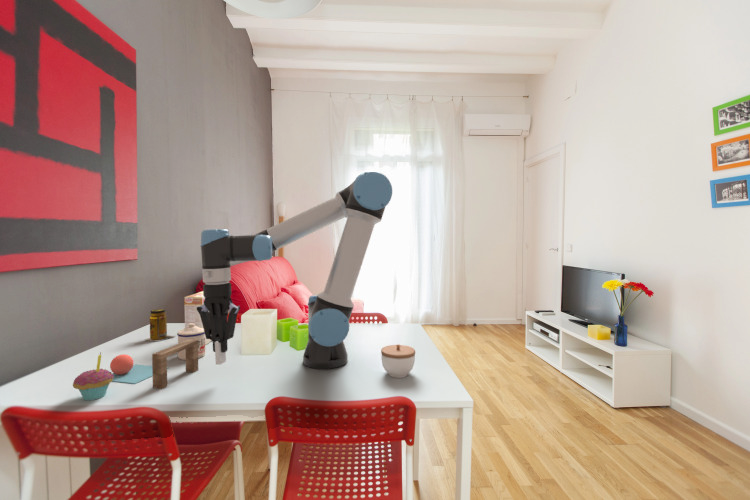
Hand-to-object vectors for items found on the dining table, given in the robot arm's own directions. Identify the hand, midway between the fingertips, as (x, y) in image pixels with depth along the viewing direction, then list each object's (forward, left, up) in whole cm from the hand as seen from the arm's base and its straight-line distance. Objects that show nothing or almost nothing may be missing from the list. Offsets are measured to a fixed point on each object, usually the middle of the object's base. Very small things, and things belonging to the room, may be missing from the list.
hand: (220, 362), depth 109 cm
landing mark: (+30, 0, -6) cm, 30 cm away
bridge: (+15, 0, -6) cm, 16 cm away
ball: (+33, +1, -3) cm, 34 cm away
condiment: (+53, -35, -6) cm, 63 cm away
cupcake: (+27, +16, -6) cm, 32 cm away
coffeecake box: (+33, -35, -6) cm, 48 cm away
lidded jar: (-49, -20, -6) cm, 53 cm away
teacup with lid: (+25, -20, -6) cm, 32 cm away
